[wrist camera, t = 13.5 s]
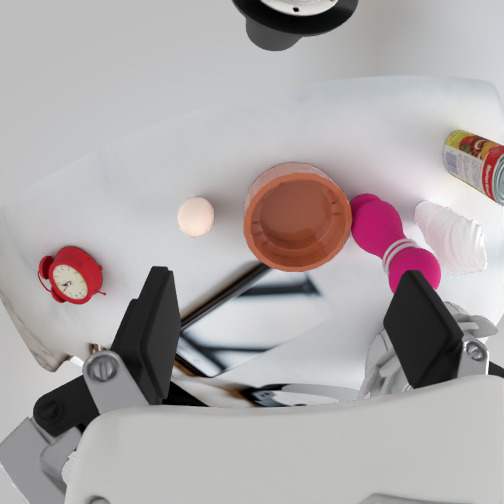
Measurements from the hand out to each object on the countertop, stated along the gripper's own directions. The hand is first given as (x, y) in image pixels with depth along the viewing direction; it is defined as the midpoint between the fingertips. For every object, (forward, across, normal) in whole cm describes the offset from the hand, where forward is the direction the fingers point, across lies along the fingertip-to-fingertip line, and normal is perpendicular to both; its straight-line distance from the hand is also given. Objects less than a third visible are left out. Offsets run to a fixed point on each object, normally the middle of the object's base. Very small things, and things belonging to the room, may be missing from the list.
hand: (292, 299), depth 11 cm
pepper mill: (+28, -16, +8) cm, 34 cm away
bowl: (+28, -5, +8) cm, 30 cm away
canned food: (+28, -32, -4) cm, 43 cm away
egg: (+28, +8, +8) cm, 31 cm away
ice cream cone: (+28, -27, +7) cm, 40 cm away
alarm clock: (+28, +33, +20) cm, 48 cm away
